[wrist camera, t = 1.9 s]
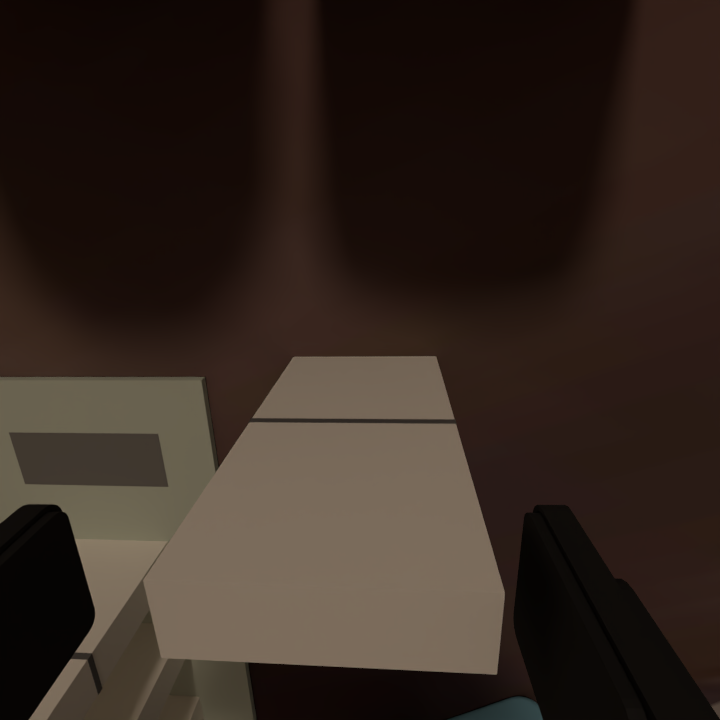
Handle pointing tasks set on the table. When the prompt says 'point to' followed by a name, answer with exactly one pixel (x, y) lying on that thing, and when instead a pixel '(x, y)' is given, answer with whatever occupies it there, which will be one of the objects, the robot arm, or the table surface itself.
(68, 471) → the domino mat
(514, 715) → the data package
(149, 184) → the table surface
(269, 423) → the domino
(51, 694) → the domino
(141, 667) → the domino
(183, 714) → the domino
